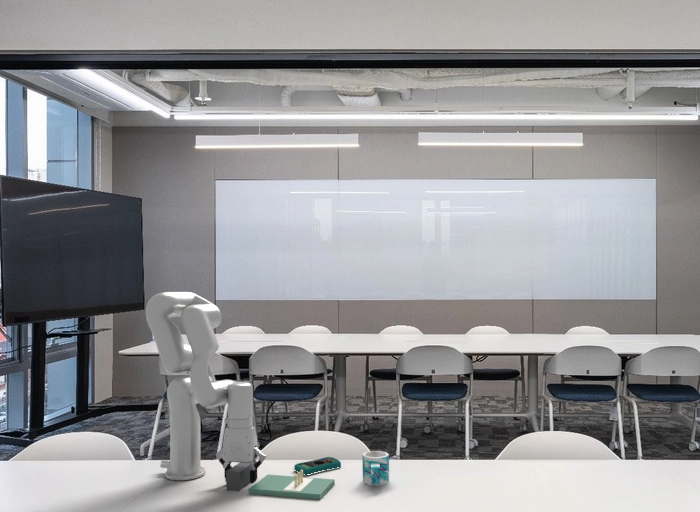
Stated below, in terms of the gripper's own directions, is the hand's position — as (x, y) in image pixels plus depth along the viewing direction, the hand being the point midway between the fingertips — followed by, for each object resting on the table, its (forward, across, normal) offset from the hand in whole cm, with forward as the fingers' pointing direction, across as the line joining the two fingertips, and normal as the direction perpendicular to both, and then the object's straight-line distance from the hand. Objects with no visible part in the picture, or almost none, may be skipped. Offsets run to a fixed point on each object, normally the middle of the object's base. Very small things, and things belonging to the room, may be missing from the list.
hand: (240, 481), depth 189 cm
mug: (+2, +40, +11) cm, 41 cm away
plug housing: (+1, 0, +2) cm, 2 cm away
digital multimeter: (+2, +18, +21) cm, 28 cm away
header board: (+1, +17, 0) cm, 17 cm away
